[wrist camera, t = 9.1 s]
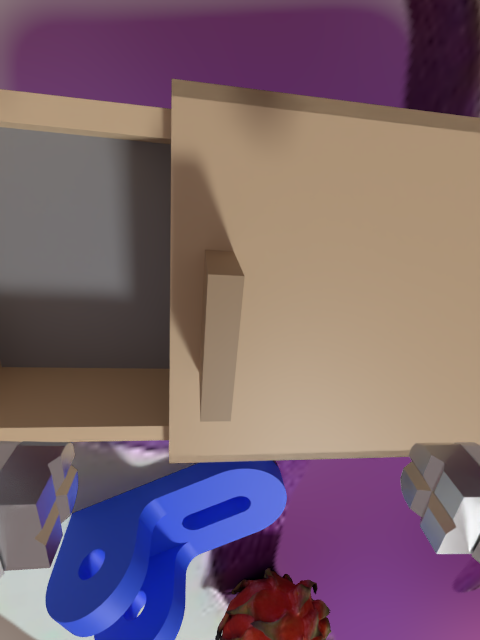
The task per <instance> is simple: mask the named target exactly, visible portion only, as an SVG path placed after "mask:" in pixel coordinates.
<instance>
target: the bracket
mask: <svg viewBox="0 0 480 640" xmlns="http://www.w3.org/2000/svg"><path fill="white" fill-rule="evenodd" d="M286 501H287V495H286V490H285V487H284V483H283V479H282V476H281V473H280V470H279V468H278V466H277V465H276V464H275V463H274V462H273V461H272V460H271V461H235V462H200V463H198V464H195V465H193V466H190V467H188V468H185V469H182V470H180V471H177V472H175V473H172V474H170V475H167V476H165V477H162V478H160V479H157V480H155V481H152V482H150V483H147V484H145V485H142V486H140V487H137V488H135V489H132V490H130V491H127V492H125V493H122V494H120V495H117V496H115V497H112V498H110V499H107V500H105V501H102V502H100V503H97V504H95V505H92V506H90V507H87V508H85V509H82V510H80V511H77V512H75V513H72V516H71V519H70V522H69V524H68V527H67V530H66V533H65V536H64V539H63V542H62V545H61V548H60V551H59V554H58V556H57V559H56V562H55V565H54V568H53V571H52V574H51V577H50V580H49V583H48V586H47V591H46V608H47V611H48V613H49V615H50V616H51V617H52V618H53V619H54V620H55V621H56V622H58V623H59V624H60V625H62V626H63V627H64V628H65V629H67V630H68V631H69V632H71V633H72V634H74V635H76V636H79V637H88V636H92V635H94V638H95V640H175V638H176V636H177V634H178V632H179V629H180V626H181V623H182V620H183V616H184V610H185V585H186V570H187V567H188V565H189V563H190V562H191V560H192V559H193V558H194V557H195V556H197V555H199V554H201V553H204V552H206V551H209V550H212V549H214V548H217V547H219V546H222V545H225V544H227V543H230V542H233V541H235V540H238V539H240V538H243V537H246V536H248V535H251V534H253V533H256V532H258V531H261V530H263V529H265V528H266V527H268V526H269V525H271V524H272V523H273V522H274V521H276V520H277V519H278V517H279V516H280V515H281V514H282V512H283V510H284V508H285V505H286ZM144 605H145V607H144V609H143V611H142V612H141V614H140V615H139V616H138V617H137V615H138V612H139V611H140V609H141V608H142V607H143V606H144ZM136 617H137V618H136Z"/></svg>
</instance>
